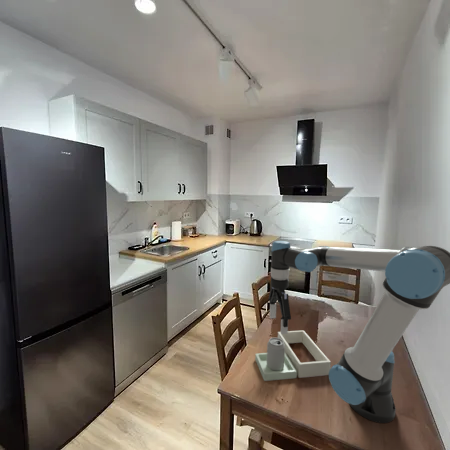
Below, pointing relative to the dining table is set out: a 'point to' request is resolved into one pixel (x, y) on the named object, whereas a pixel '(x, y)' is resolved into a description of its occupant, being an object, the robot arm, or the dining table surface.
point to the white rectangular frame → (322, 361)
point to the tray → (269, 374)
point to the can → (275, 354)
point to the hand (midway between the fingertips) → (278, 325)
